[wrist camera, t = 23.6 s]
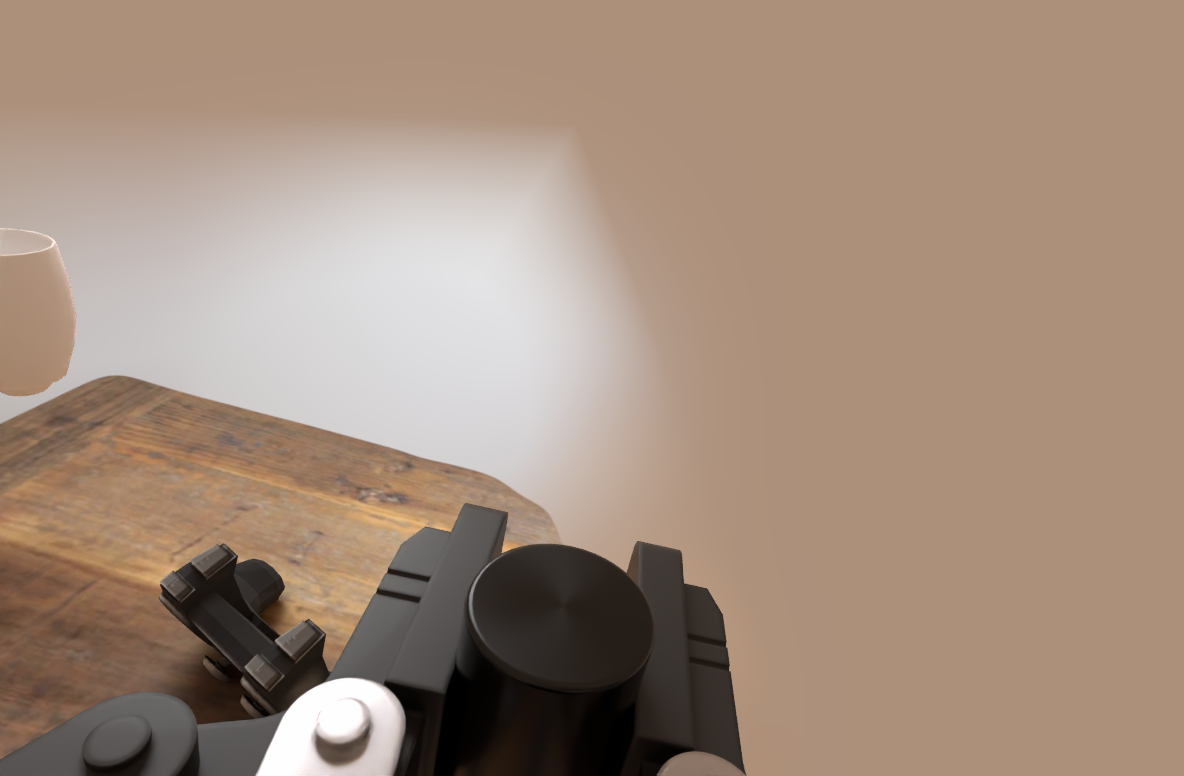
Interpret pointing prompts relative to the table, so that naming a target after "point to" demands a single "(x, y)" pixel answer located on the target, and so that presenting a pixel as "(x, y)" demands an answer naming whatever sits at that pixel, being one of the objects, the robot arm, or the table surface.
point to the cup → (33, 313)
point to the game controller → (246, 628)
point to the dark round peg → (546, 665)
